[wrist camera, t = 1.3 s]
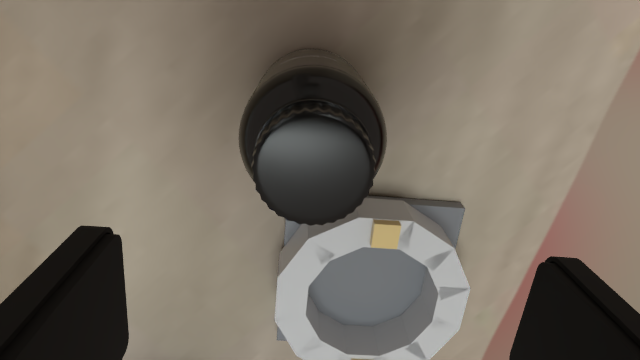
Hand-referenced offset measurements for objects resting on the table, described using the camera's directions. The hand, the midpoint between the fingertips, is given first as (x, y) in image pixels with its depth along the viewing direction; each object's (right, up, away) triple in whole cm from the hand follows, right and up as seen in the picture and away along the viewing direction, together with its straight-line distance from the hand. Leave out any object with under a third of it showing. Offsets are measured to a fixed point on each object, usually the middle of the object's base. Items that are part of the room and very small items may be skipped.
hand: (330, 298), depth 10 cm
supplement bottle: (-1, +8, +18) cm, 20 cm away
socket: (+3, -4, +23) cm, 23 cm away
